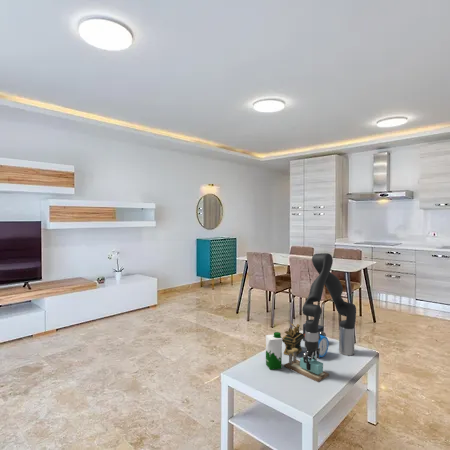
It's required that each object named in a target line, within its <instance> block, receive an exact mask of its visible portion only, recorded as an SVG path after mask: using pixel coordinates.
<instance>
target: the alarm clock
mask: <svg viewBox="0 0 450 450" xmlns="http://www.w3.org/2000/svg"><path fill="white" fill-rule="evenodd" d="M318 335H319V342H318V348H320V353H319V358H318V359H320V358H324V357H325V356H326V355H327V353H328V350H329V344H330V342H329V339H328V338H327V334H326V332H325V331H323V332H322V331H320V332H319V333H318ZM322 335H323V336H322Z"/></svg>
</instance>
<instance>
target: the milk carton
mask: <svg viewBox="0 0 450 450" xmlns="http://www.w3.org/2000/svg"><path fill="white" fill-rule="evenodd" d="M281 334H282V333H281V332H279V331H274V332H273V334H265V364H266V367H267V368H268V369H269V370H270V371H273V370H281V369H282V358H283V356H282V355H283V352H282V348H283V345H282V344H283V341H282V338H283V337H282V335H281Z"/></svg>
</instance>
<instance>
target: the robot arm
mask: <svg viewBox="0 0 450 450" xmlns="http://www.w3.org/2000/svg"><path fill="white" fill-rule="evenodd" d="M311 262H312V265H313V267H314V268H315V270H316V272H317V274H318V276H317V277H316V278H315V279H314V280H313V282H312V284H311V286H310V289H309V294H308V296H307V299H306V300H305V302H304V303H303V306H302V309H301V311H302V314H303V315H304V316H307V317H311V318H313V319H306V321H305V323H306V325H305V341H304V347H305V349H306V350H305V352H303V353H302V357H303V360H304V363H306V368H307V370H310V367H311V364H310V363H311V360H312V359H314V360H316V361H318V359H320V358H319V353H320V348H318V342H319V335H318V325H320V324H319V322H320V318H321V315H322V314H323V313H322V311H323V310H322V309H323V308H322V307H321V305H319V304H315V303H317V302H320V301H322V296H323V292H324V288H326V289H327V291H328V293H329V295H330V298H331V299H332V301H333V304H334V306H335V309H336V311H337V313H338V315H340V316H343V317H346V319H344V320H340V321H339V331H338V332H339V334H338V335H339V337H338V339H339V340H338V352H339V353H340V354H341V355H343V356H354V355H355V326H356V321H357V306H356V305H355V304H354V303H352V302H349V301H345V300H344V299H343V297H342V295H343V291H344V287H343V285H342V283H341V280H340V279H339V277H338V276H336V275H335V274H334V273H332V272H331V269H332V266H333V264H334V263H333V262H334V258H333V256H332V254H331V253H325V252H321V253H319V252H318V253H315V254H313V255H312V257H311ZM308 359H309V361H308Z"/></svg>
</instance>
